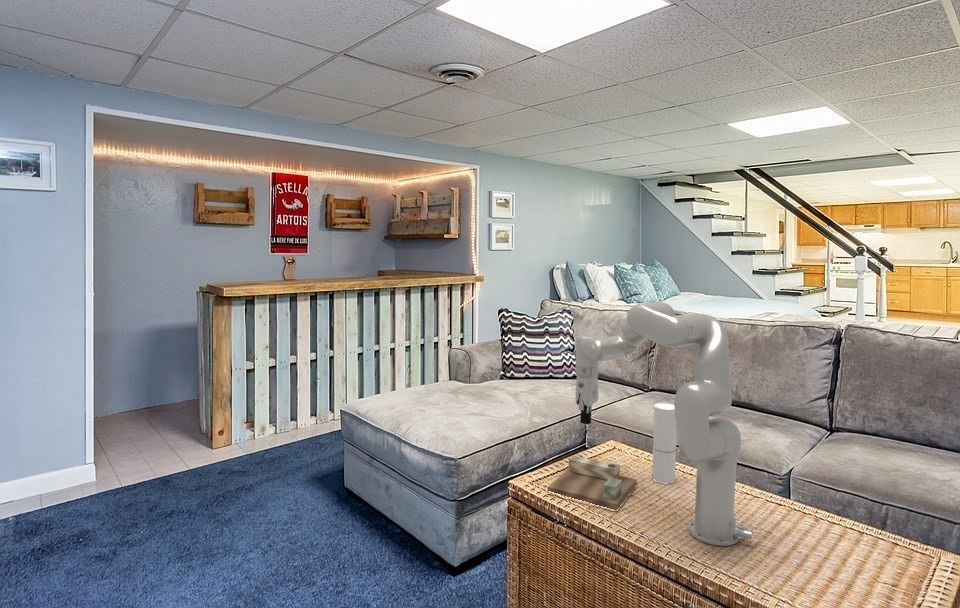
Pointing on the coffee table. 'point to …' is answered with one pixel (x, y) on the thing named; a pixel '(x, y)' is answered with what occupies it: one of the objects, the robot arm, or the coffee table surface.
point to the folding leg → (594, 468)
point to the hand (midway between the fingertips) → (585, 423)
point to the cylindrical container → (664, 443)
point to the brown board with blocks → (594, 488)
